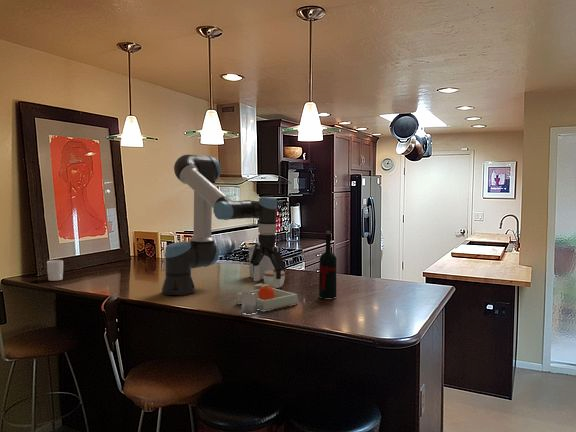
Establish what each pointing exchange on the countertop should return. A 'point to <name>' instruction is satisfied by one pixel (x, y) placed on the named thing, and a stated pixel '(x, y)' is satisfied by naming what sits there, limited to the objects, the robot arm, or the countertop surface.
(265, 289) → the clementine
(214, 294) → the countertop surface
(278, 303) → the sage tray
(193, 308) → the countertop surface
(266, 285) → the wood block
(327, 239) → the wine bottle
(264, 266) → the utensil holder
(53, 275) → the white cup
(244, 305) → the metal can
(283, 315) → the countertop surface
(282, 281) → the lidded jar
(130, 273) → the countertop surface
